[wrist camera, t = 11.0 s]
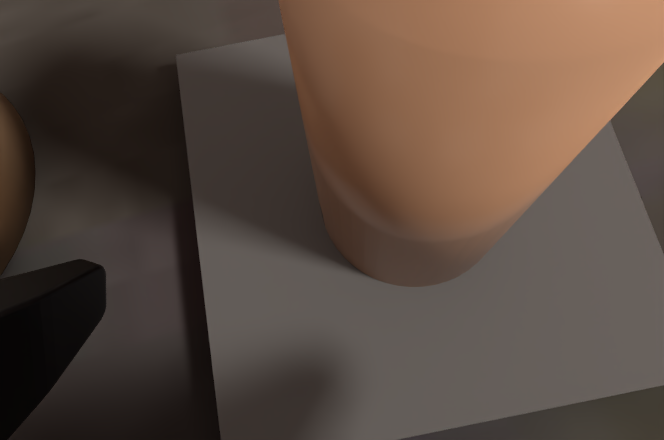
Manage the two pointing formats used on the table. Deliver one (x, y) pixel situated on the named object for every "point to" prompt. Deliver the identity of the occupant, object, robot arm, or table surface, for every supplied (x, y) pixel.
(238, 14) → the table surface
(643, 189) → the table surface
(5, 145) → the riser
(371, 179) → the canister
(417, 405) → the mat
